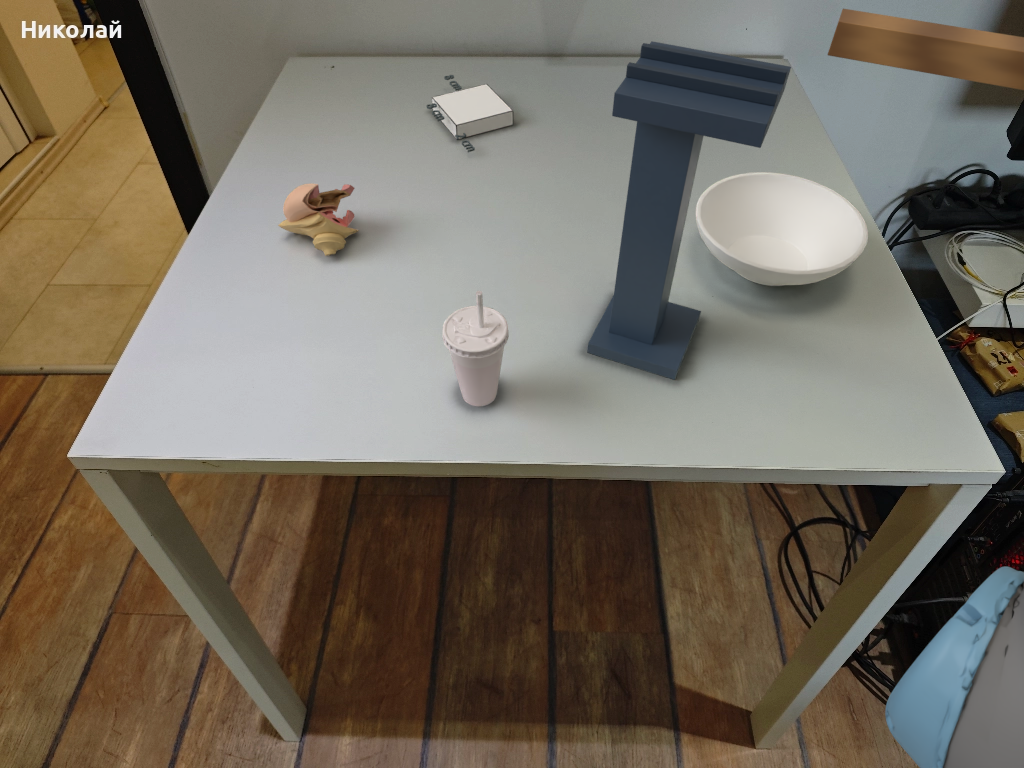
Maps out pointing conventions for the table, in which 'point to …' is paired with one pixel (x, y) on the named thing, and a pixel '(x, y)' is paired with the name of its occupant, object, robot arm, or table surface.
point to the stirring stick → (930, 48)
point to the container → (471, 111)
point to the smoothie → (476, 350)
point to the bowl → (780, 228)
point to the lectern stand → (673, 186)
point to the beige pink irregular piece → (318, 216)
